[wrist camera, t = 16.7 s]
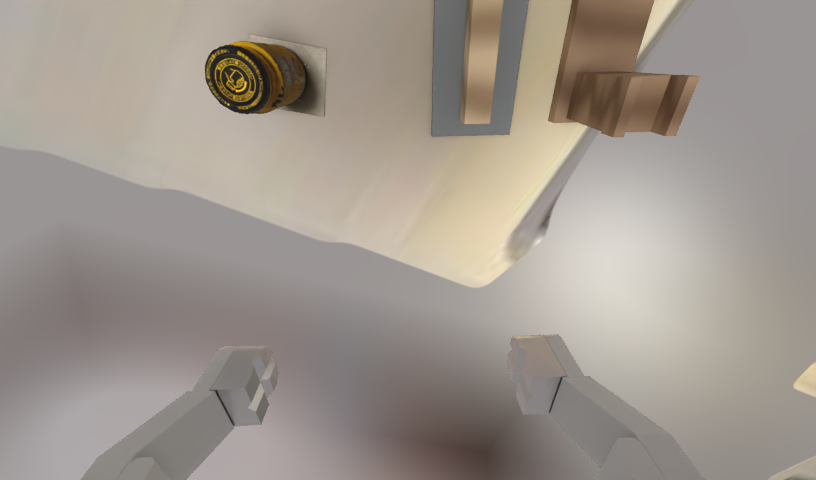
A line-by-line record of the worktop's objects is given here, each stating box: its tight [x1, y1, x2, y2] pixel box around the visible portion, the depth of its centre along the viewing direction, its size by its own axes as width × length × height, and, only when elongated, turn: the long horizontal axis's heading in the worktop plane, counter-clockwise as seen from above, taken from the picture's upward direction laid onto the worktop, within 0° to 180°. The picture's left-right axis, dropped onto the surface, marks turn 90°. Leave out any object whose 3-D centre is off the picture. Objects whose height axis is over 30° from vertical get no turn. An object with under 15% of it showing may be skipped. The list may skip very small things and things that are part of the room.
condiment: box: [205, 34, 326, 117], centre depth 31 cm, size 7×8×12 cm
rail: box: [460, 0, 503, 124], centre depth 33 cm, size 20×3×3 cm, turn 1°
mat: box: [432, 0, 529, 137], centre depth 34 cm, size 24×10×1 cm, turn 1°
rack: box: [548, 0, 700, 137], centre depth 29 cm, size 21×8×12 cm, turn 1°
